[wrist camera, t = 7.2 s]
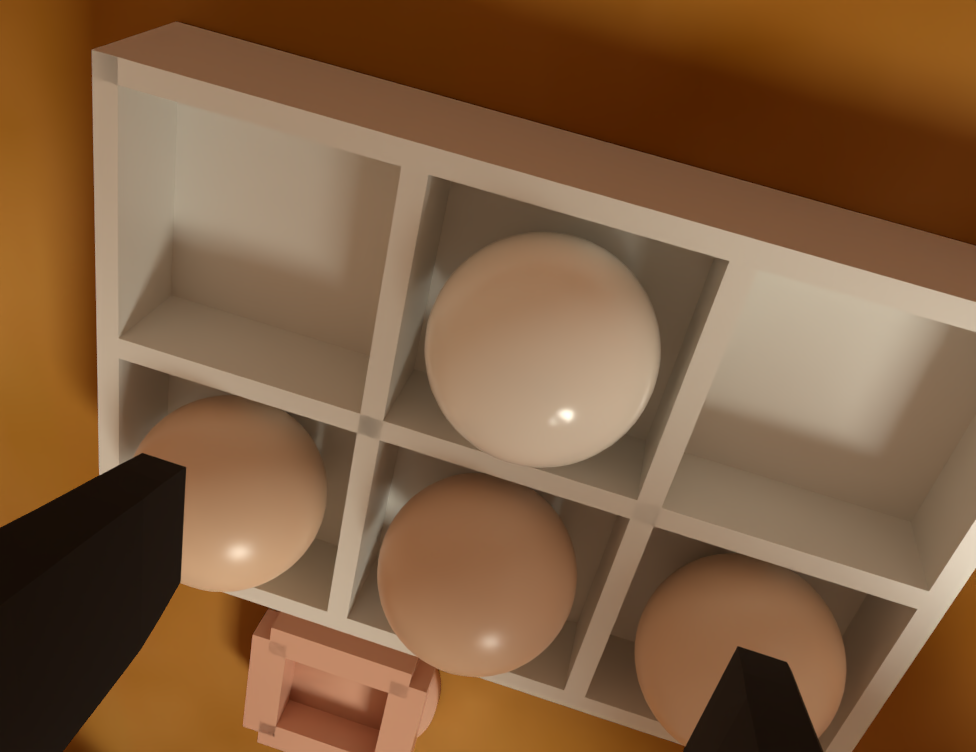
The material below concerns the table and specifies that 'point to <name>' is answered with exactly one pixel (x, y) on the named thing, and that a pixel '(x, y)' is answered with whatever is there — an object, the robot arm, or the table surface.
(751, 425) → the carton
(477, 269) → the white rounded ball
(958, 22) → the table surface
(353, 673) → the egg cup
